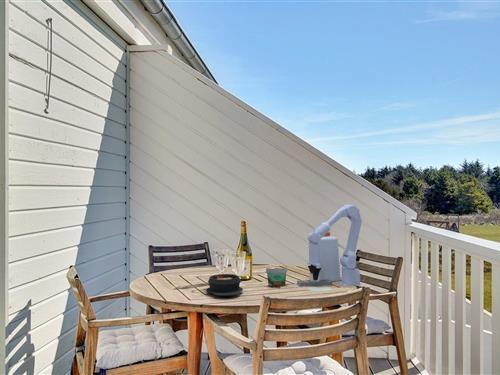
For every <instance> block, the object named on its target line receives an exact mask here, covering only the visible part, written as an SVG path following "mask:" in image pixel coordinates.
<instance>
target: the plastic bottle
mask: <svg viewBox="0 0 500 375" xmlns="http://www.w3.org/2000/svg"><path fill="white" fill-rule="evenodd" d="M319 248H320V267H321V270H320V272H319V280H325V279H329V280H330V281H332V282H339V281H341V280H342V275H341V267H340V266H341V263H340V254H339V242H338V238H337V237H335V236H333V235H331V232H330V231H329V232H328V233H327V234H325V235H324V236H323V237H322V238H321V241H320V242H319Z"/></svg>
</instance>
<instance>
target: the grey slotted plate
mask: <svg viewBox="0 0 500 375" xmlns="http://www.w3.org/2000/svg"><path fill="white" fill-rule="evenodd" d="M296 284H297V286H299V287H301V288H302V287H330V286H333V281H330V280H329V279H325V280H319V282H310V279H301V280H296Z"/></svg>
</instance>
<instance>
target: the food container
mask: <svg viewBox="0 0 500 375" xmlns="http://www.w3.org/2000/svg"><path fill="white" fill-rule="evenodd" d="M265 272H266V276H267V285H268V287H270V288H281V287H285V286H286V281H287V272H289V271H288V268H287V266H285V267H283V268H279V267H276V268H275V267H274V268H270V267H266V268H265Z"/></svg>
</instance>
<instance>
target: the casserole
mask: <svg viewBox="0 0 500 375" xmlns="http://www.w3.org/2000/svg"><path fill="white" fill-rule="evenodd" d="M207 283H208V285H209V287H207V288H206V290H205V291H206V292H207V293H209V294H212V295H214V296H218V297H228V296H230V297H231V296H238V295H239V294H240V293H241V292H242V291H244V288H242V286H240V285H241V283H242V280H241V278H240V276H239V275H237V274H233V273H232V274H231V273H220V274H214V275H211V276H209V278H208V280H207Z"/></svg>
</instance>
